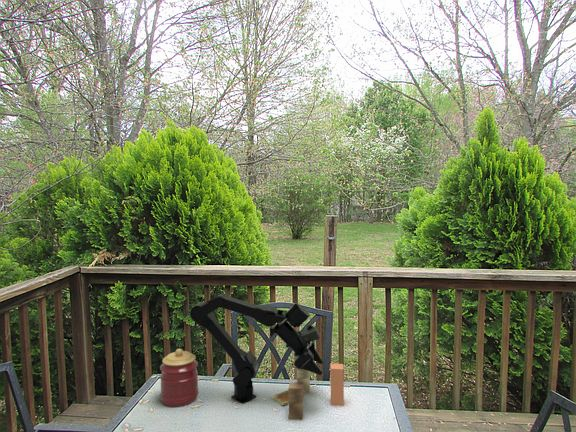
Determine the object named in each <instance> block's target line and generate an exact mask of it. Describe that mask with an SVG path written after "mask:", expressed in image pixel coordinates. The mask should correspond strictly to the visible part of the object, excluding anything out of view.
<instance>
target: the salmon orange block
mask: <svg viewBox="0 0 576 432" xmlns="http://www.w3.org/2000/svg"><path fill="white" fill-rule="evenodd" d="M344 370H345V368H344V363H330V406H338V405H339V406H340V407H341V406H342V407H344V406H345V405H344V404H345V395H344V394H345V391H344V390H345V386H344V385H345V383H344V382H345V381H344V380H345V379H344V378H345V377H344V376H345V375H344V373H345V372H344Z"/></svg>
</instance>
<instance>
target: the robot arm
mask: <svg viewBox="0 0 576 432" xmlns="http://www.w3.org/2000/svg"><path fill="white" fill-rule="evenodd" d="M219 308H223V309H225V310H228V311H231V312H234V313H237V314H240V315H244V316H247V317H250V318H252V319H254V320H255V321H256V322H257V323H259V324H261V325H263V326H265V327H268V328H269V329H268V330H269V337H270V338H271V337H273V336H274V335H275V334H276V336H277V337H278V338H280V340H281V341H283V343H284V344H285V347H286V348H288V349H290V350H291V351H292V352H293V356H295V359H294V366H295V368H296V369H297V368H298V369H301V370H302V369H304V370H307V371H310V373H312V374H316V375H319V376H322V375H323V371H322V369H321V368H320V367H319V366H318V364H320V365H322V364H323V363H324V361H323V359H322V358H321V356H320V354H319V352H318V351H317V349H316V347H315V346H316V341H317V340H320V338H321V337H320V336H321V334H320V332H319V329H318V328H317V326H314V325H312V324H308V325H307V328H306V330H305V331H304V332H301V330H296V329H295V328H300V327H301V325H303V324H304V323H305V322H306V321H307V320H308V319H309V318H310V317H311V313H310V312H309V311H308V310H307V309H306V307H305V306H302V305H301V304H299V303H298V302H297V301H295V302H294V303H293V304H292V306H291V307H290V308H288V310H285V309H284V310H283V309H279V308H278V307H275V306H273V305H266V304H262V305H261V304H254V303H251V302H248V301H244V300H241V299H238V298H235V297H232V296H228V295H226V294H224V293H220V294H218V295H217V296H215V297H213V298H211V299H208V300H207V301H200V302H198V303H196V304H195V305H194V306H192V307H191V309H190V311H189V317H190V319H191V321H194V323H195V324H197V325H198V326H199V327H201V328H203V329H205V330H207V332H209V334H210V336H211V337H213V339H214V340H215V341H216V342H217V343H218V344H219V346H220V347H221V348H222V349H223V351H224V352H225V354H227V355H228V357H229V358H230V359H231V360H232V362H233V365H234V368H235V371H236V373H235V374H234V376H233V378H232V383H233V385H234V386H233V387H234V388H233V389H234V390H233V393H234V394H233V395H231V396H230V399H233V400H234V401H237V402H239V403H240V404H245V403H247V402H248V401H251V400H252V399H256V398H257V395H256V394H254V386H253V385H254V383H253V380H252V379H253V378H254V377H255V375H256V373H257V371H258V369H259V362H258V358H257V356H255V355H254V353H252V351H251V350H248V351H247V352H246V351H245V350H243V349H242V348H241V347H240V346H239V345H238V344H237V343H236V341H235V340H234V339H233V338H232V336H231V335H230V334H229V333H228V332H227V331H226V329H225V328H224V327H223V326H222V325H221V323H220V322H219V321H218V319H217V317H216V314H215V311H216V310H218V309H219ZM317 363H318V364H317Z"/></svg>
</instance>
